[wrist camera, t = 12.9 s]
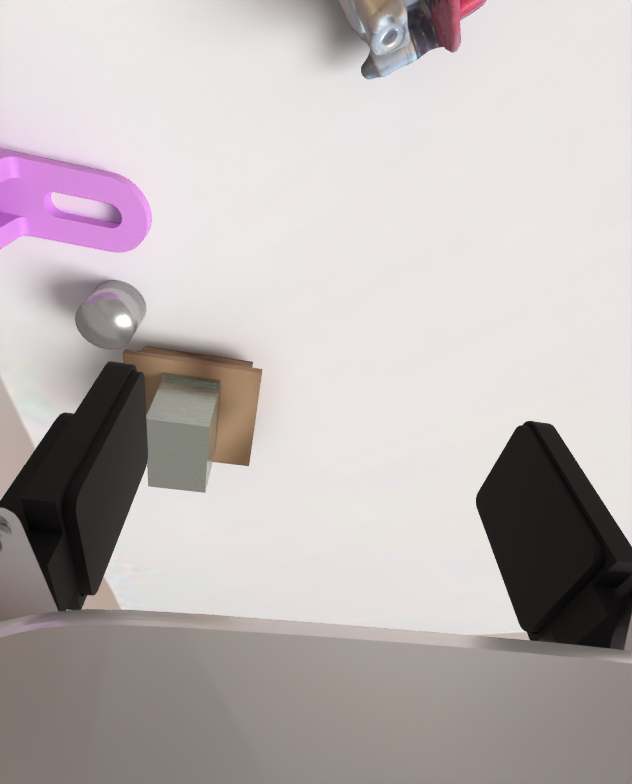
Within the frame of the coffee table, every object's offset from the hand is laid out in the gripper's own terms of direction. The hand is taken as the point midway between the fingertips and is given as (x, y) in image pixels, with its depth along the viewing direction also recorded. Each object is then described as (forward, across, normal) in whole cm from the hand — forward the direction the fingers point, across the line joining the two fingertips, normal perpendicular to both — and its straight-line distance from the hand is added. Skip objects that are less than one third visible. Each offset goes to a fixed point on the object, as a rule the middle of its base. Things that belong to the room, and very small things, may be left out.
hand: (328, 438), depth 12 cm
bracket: (+29, +19, +5) cm, 35 cm away
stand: (+28, +8, +22) cm, 37 cm away
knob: (+28, +15, +13) cm, 35 cm away
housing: (+25, +8, +22) cm, 34 cm away
